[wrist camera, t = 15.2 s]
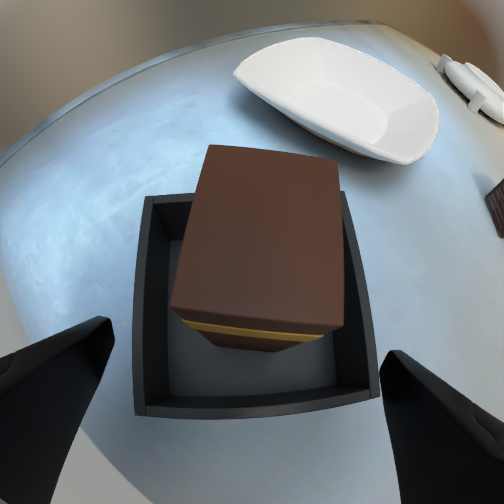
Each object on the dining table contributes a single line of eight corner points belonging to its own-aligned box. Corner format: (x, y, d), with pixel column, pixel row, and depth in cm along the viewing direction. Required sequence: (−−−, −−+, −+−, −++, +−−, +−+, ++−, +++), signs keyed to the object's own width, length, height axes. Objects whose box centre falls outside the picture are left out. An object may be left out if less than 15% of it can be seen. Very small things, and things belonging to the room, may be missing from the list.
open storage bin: (163, 402, 16) (134, 415, 10) (165, 237, 20) (144, 195, 15) (342, 390, 16) (380, 396, 11) (321, 232, 21) (344, 190, 16)
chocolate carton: (276, 353, 17) (346, 328, 6) (213, 346, 17) (165, 308, 6) (283, 279, 19) (339, 159, 8) (224, 272, 19) (207, 142, 8)
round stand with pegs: (443, 63, 46) (451, 45, 39) (508, 118, 40) (519, 102, 33) (425, 75, 38) (437, 51, 32) (511, 150, 32) (527, 129, 26)
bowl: (305, 58, 34) (310, 30, 29) (430, 126, 29) (445, 100, 25) (207, 114, 26) (204, 74, 22) (391, 224, 22) (421, 191, 17)
